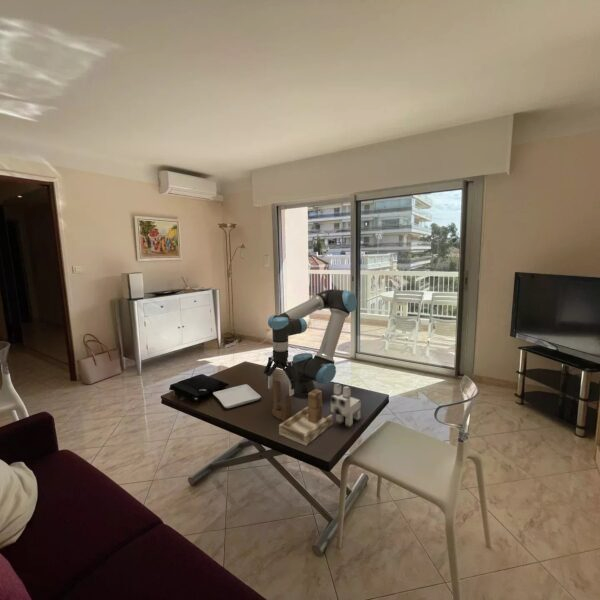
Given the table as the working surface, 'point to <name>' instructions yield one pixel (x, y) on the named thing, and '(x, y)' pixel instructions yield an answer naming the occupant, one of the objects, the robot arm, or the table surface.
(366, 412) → the table surface
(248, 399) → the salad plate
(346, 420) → the toy llama
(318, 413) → the tall brown block
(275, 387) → the brown wooden figure
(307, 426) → the tray
